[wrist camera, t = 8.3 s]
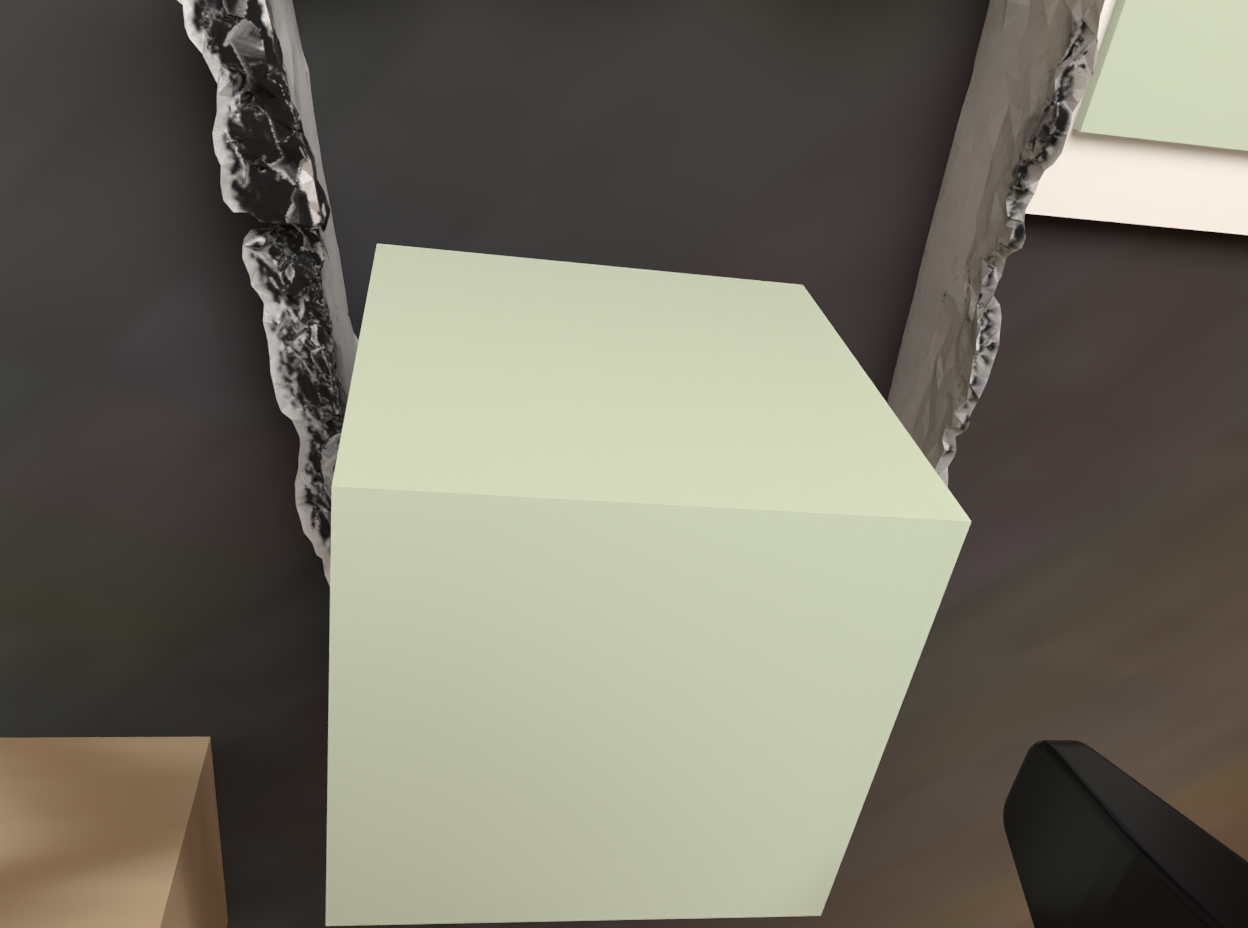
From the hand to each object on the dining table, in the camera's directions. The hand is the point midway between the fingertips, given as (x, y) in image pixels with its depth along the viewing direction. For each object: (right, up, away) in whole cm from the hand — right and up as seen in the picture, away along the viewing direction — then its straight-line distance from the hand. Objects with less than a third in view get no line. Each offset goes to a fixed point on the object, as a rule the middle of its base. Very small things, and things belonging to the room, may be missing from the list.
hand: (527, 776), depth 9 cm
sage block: (0, +3, +5) cm, 6 cm away
